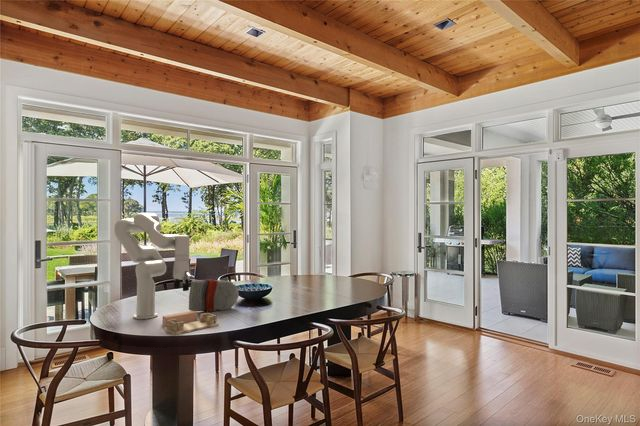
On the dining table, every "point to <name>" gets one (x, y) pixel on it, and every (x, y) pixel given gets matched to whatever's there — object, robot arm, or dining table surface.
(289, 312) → the dining table surface
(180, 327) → the plank with end blocks
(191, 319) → the clay strip
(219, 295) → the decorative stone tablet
